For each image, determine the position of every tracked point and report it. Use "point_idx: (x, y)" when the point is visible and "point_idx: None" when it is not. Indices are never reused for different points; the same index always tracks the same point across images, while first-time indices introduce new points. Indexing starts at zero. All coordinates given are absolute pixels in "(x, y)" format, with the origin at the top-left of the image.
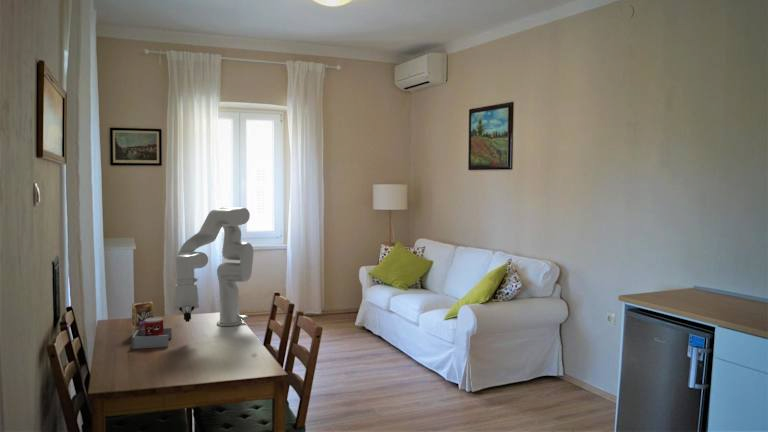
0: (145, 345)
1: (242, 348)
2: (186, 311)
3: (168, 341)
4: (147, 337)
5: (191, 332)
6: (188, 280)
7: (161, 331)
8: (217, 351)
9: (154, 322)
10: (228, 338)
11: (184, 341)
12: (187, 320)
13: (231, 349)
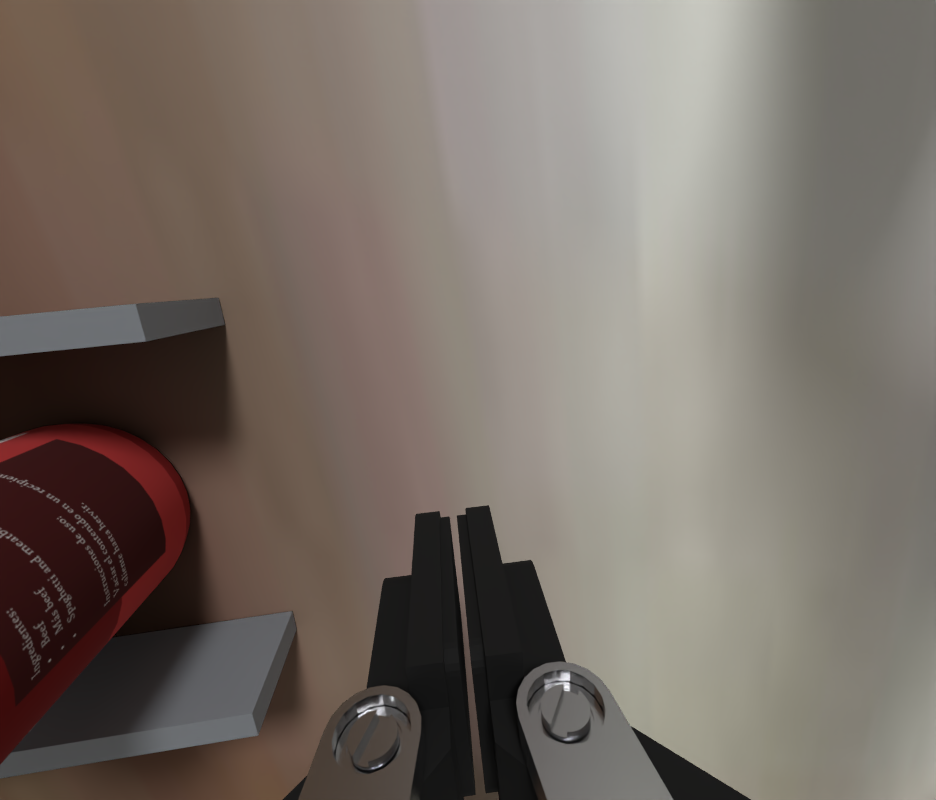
0: None
1: (889, 706)
2: (455, 783)
3: (278, 644)
4: (11, 766)
5: (409, 7)
6: None
7: (100, 641)
8: (716, 764)
9: None
10: (833, 407)
11: (412, 468)
12: (453, 553)
13: (813, 725)
